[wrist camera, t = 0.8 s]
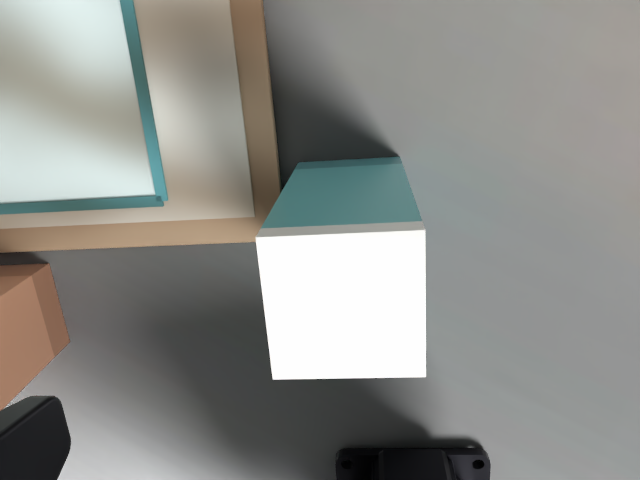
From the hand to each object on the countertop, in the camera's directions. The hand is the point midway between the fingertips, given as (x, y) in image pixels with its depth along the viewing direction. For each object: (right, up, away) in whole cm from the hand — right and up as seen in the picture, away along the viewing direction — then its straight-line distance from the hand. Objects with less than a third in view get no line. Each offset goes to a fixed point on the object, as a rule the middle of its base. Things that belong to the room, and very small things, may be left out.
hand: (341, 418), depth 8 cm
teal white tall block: (+1, +4, +11) cm, 12 cm away
